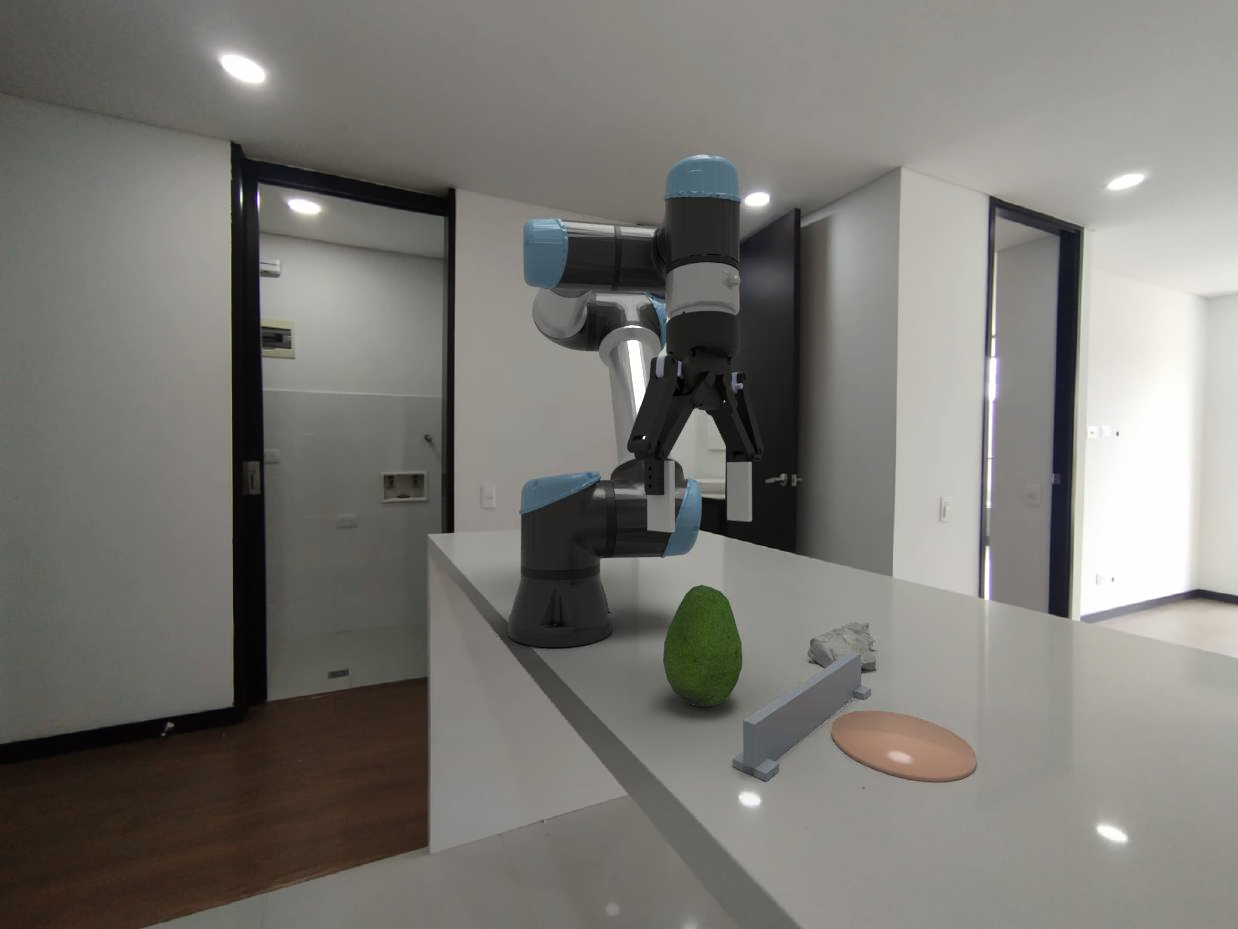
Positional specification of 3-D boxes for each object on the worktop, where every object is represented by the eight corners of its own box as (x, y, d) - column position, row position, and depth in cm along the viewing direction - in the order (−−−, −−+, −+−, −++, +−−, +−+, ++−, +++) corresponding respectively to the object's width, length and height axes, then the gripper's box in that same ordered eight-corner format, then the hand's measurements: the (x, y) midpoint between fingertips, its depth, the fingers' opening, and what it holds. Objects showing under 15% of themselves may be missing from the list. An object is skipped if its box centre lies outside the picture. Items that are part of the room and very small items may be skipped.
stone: (908, 663, 66) (908, 630, 66) (846, 681, 60) (846, 644, 60) (861, 649, 72) (861, 618, 72) (799, 664, 65) (799, 630, 65)
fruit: (736, 727, 49) (736, 597, 49) (654, 713, 52) (654, 590, 52) (747, 693, 57) (746, 580, 57) (674, 683, 59) (674, 575, 59)
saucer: (810, 745, 46) (810, 740, 46) (858, 704, 54) (858, 700, 54) (957, 800, 38) (957, 794, 38) (989, 743, 46) (989, 738, 46)
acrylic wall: (732, 766, 43) (732, 716, 43) (842, 685, 58) (842, 649, 58) (766, 781, 41) (766, 729, 41) (871, 693, 56) (870, 655, 56)
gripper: (650, 277, 43) (651, 540, 43) (793, 333, 61) (794, 519, 61) (587, 298, 48) (588, 533, 48) (736, 344, 66) (737, 515, 66)
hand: (703, 525), depth 54 cm, fingers open, 13 cm apart
